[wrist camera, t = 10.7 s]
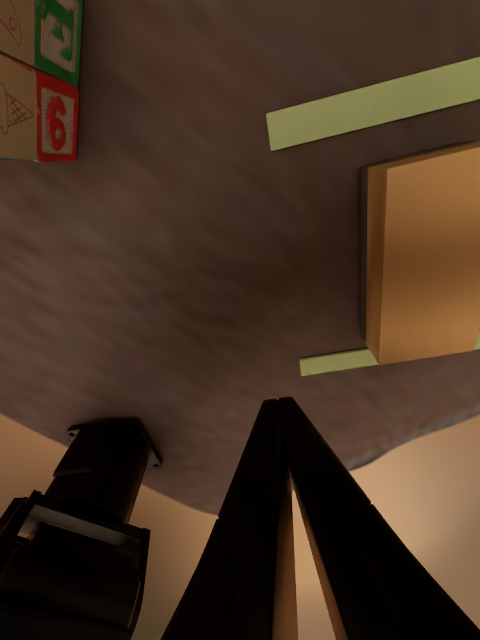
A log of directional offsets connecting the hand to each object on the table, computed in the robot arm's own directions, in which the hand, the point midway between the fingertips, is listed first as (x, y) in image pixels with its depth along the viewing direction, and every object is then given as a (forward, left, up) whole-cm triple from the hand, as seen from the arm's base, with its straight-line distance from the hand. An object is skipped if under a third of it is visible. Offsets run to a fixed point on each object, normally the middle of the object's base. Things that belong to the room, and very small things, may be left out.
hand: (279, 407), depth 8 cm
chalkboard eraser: (0, -8, -10) cm, 13 cm away
